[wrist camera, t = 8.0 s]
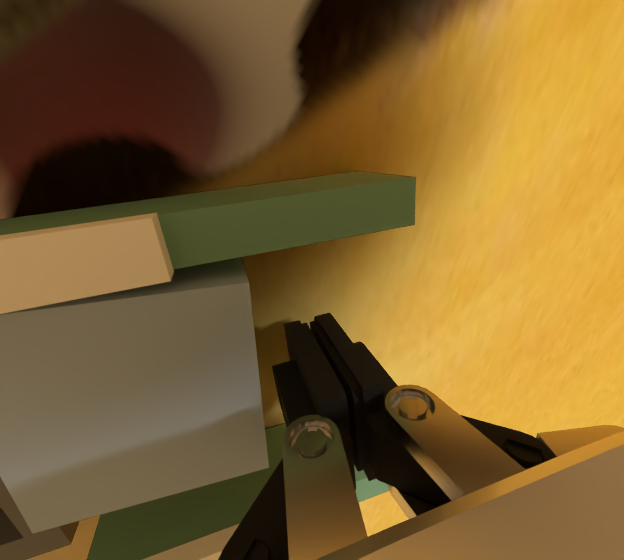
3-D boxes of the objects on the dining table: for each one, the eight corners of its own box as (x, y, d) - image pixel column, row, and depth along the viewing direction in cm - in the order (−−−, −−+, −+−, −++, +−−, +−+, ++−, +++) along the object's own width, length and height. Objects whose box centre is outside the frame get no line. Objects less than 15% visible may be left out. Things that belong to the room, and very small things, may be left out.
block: (237, 240, 11) (249, 282, 7) (253, 382, 13) (268, 467, 9) (29, 260, 9) (-85, 325, 6) (88, 416, 12) (32, 533, 8)
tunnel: (357, 169, 11) (430, 176, 7) (368, 417, 15) (416, 499, 12) (-22, 220, 8) (-199, 270, 5) (123, 497, 13) (88, 631, 9)
